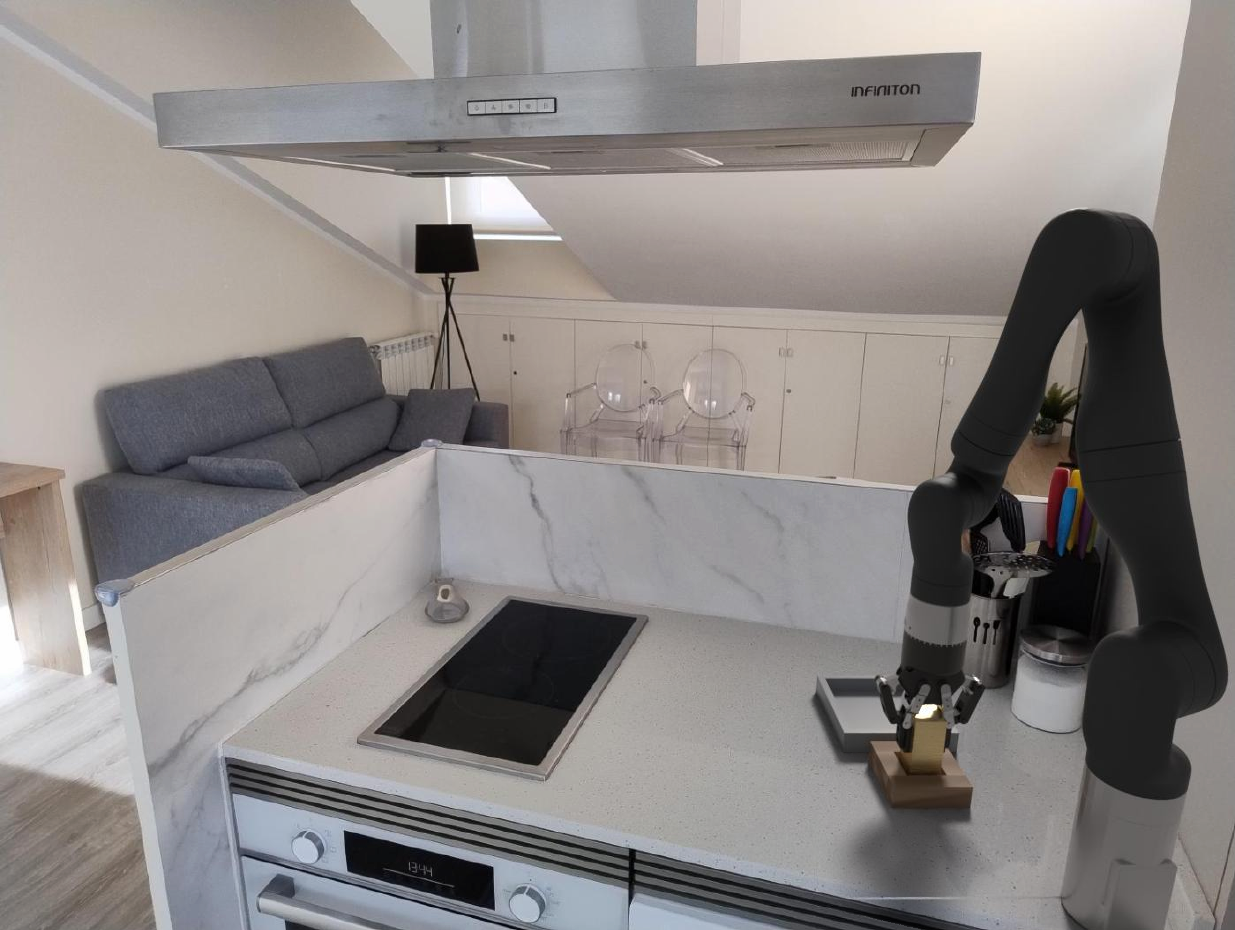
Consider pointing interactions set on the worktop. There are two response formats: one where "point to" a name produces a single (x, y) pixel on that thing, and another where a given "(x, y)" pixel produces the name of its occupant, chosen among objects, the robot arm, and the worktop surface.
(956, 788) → the socket block
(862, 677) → the parts tray
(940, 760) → the pin
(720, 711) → the worktop surface
